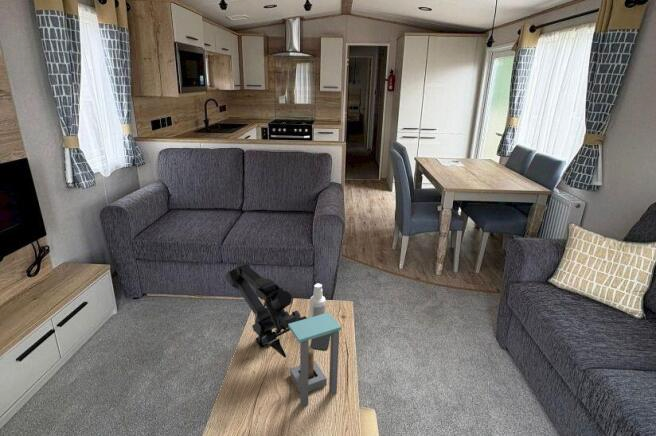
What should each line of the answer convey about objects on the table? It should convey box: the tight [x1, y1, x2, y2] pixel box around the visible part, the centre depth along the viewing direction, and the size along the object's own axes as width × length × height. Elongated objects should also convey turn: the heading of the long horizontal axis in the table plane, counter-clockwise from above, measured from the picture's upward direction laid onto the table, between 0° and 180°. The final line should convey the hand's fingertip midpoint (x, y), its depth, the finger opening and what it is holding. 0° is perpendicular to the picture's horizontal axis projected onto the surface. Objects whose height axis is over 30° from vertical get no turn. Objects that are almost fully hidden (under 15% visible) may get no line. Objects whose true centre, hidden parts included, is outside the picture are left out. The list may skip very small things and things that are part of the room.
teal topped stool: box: [288, 312, 342, 407], centre depth 129 cm, size 10×15×27 cm, turn 118°
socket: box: [289, 359, 328, 393], centre depth 138 cm, size 10×10×3 cm
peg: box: [308, 346, 315, 380], centre depth 136 cm, size 4×4×13 cm
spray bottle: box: [309, 282, 327, 318], centre depth 169 cm, size 7×7×18 cm
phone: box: [309, 333, 331, 351], centre depth 161 cm, size 7×1×15 cm
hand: (295, 351), depth 141 cm, fingers open, 9 cm apart
